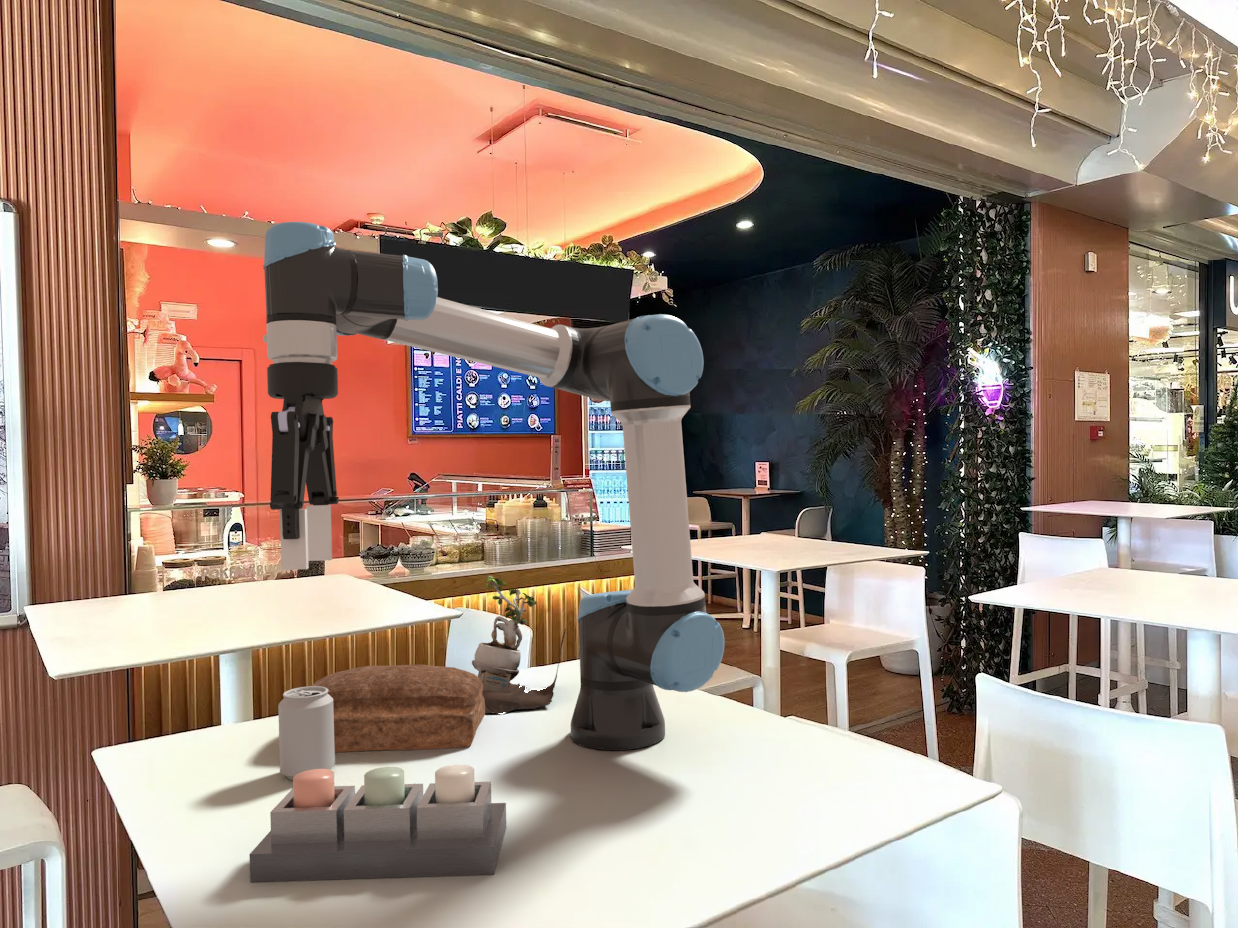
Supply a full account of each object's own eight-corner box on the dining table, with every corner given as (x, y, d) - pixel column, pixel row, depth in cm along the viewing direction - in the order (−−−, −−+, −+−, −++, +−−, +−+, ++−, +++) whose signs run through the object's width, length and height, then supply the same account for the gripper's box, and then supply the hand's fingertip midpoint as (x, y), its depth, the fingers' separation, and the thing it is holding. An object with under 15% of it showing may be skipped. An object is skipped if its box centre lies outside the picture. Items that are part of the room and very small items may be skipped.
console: (506, 827, 106) (505, 773, 106) (493, 874, 94) (492, 813, 94) (290, 834, 106) (289, 780, 106) (250, 882, 94) (248, 821, 94)
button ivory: (477, 802, 102) (476, 763, 102) (472, 817, 98) (471, 777, 98) (439, 803, 102) (438, 765, 102) (432, 819, 98) (431, 778, 98)
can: (317, 783, 122) (315, 698, 122) (269, 781, 124) (267, 696, 124) (344, 765, 130) (342, 684, 129) (298, 762, 131) (296, 682, 131)
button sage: (408, 804, 102) (407, 766, 102) (400, 820, 98) (399, 779, 98) (371, 805, 102) (370, 767, 102) (360, 821, 98) (359, 781, 98)
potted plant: (455, 700, 173) (487, 575, 177) (548, 722, 173) (578, 597, 177) (438, 711, 153) (474, 571, 157) (543, 735, 153) (576, 594, 157)
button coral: (339, 806, 102) (338, 768, 102) (328, 822, 98) (326, 781, 98) (301, 807, 102) (300, 769, 102) (288, 823, 98) (287, 783, 97)
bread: (318, 723, 152) (316, 657, 151) (488, 718, 152) (487, 652, 152) (283, 757, 135) (281, 683, 134) (475, 750, 135) (474, 677, 135)
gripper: (300, 373, 110) (305, 555, 110) (230, 353, 89) (236, 577, 89) (360, 371, 110) (365, 553, 110) (304, 351, 89) (310, 575, 89)
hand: (307, 564), depth 100 cm, fingers open, 8 cm apart
